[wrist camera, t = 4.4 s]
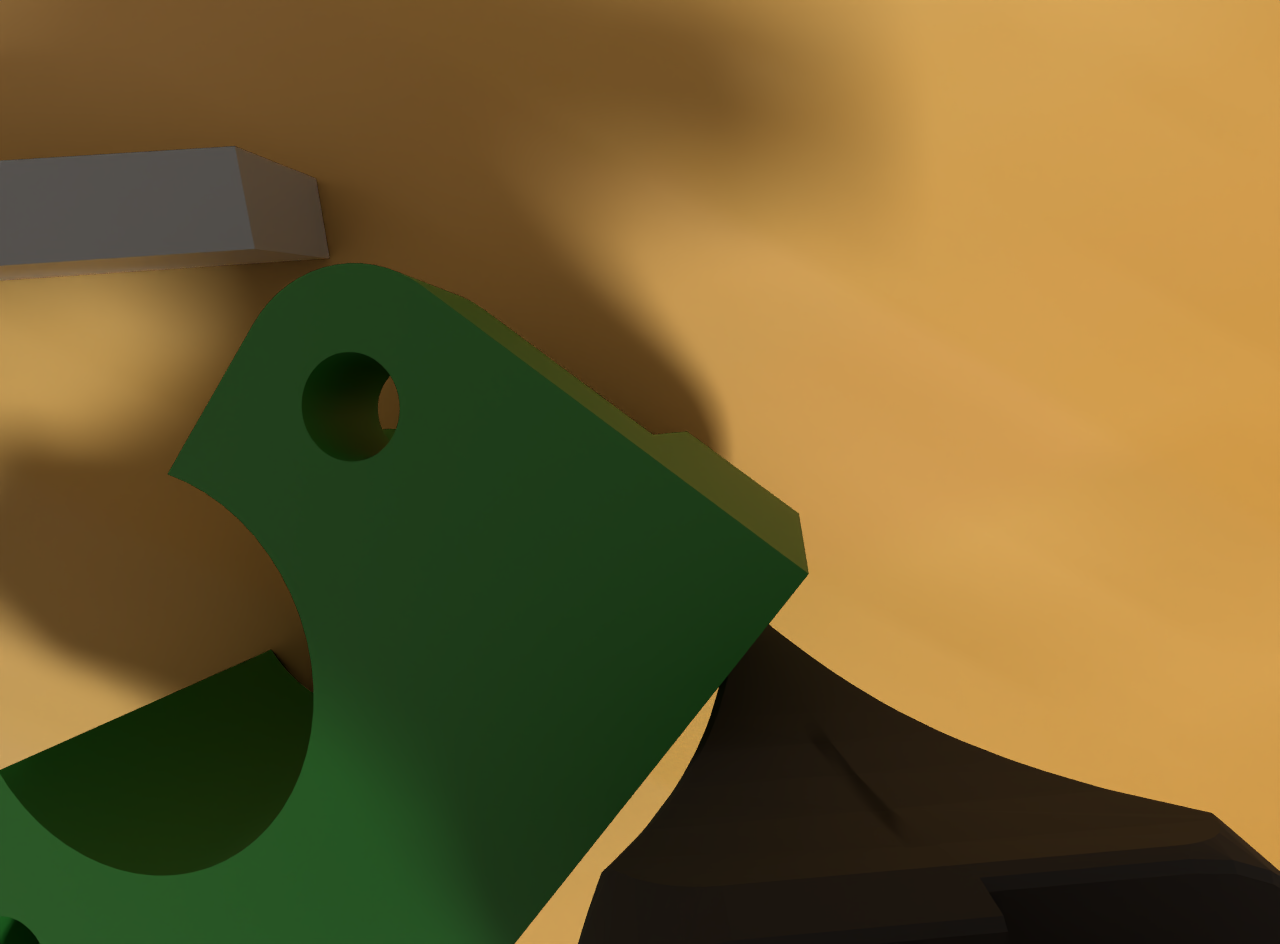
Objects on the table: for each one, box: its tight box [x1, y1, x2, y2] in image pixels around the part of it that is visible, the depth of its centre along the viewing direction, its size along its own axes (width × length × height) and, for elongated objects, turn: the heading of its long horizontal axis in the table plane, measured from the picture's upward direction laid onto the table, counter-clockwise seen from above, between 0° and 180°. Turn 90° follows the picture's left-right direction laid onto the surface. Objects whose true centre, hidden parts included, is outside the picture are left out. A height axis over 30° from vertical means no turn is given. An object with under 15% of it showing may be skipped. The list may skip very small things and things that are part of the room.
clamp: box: [0, 263, 809, 944], centre depth 10 cm, size 12×6×9 cm, turn 137°
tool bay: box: [0, 146, 329, 280], centre depth 12 cm, size 9×16×2 cm, turn 4°
